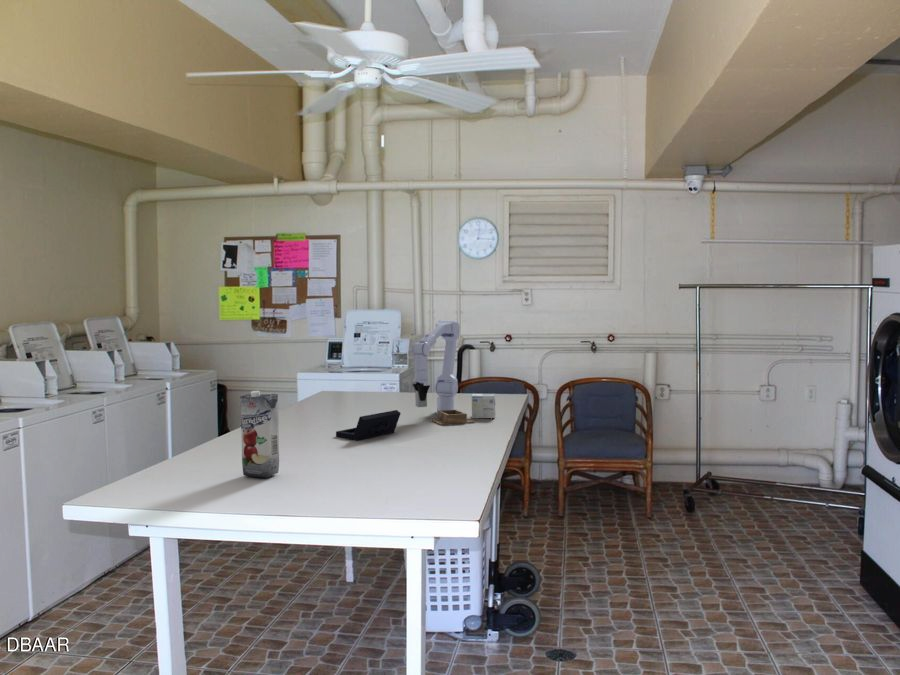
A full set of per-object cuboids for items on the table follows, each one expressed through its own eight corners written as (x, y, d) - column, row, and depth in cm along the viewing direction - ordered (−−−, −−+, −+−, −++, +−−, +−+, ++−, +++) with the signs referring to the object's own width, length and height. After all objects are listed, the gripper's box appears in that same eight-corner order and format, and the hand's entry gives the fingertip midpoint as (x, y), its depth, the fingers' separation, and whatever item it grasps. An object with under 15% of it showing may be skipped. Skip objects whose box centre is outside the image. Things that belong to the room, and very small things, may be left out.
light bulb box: (495, 416, 341) (495, 393, 340) (495, 419, 334) (494, 395, 333) (472, 416, 342) (472, 393, 341) (471, 419, 335) (471, 395, 334)
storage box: (373, 430, 311) (372, 406, 310) (400, 434, 300) (400, 410, 300) (335, 437, 295) (335, 413, 294) (364, 442, 285) (363, 417, 284)
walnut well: (430, 420, 332) (429, 411, 332) (463, 417, 337) (462, 408, 337) (440, 425, 319) (440, 415, 319) (474, 422, 324) (474, 413, 324)
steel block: (415, 405, 328) (415, 390, 328) (424, 405, 330) (423, 389, 329) (418, 407, 324) (418, 391, 324) (426, 406, 326) (426, 390, 325)
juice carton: (255, 470, 240) (253, 388, 239) (283, 472, 237) (281, 389, 235) (238, 476, 232) (236, 391, 230) (266, 479, 228) (264, 392, 227)
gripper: (407, 368, 331) (407, 398, 332) (417, 371, 318) (417, 402, 319) (422, 367, 334) (422, 397, 335) (432, 370, 320) (433, 401, 321)
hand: (421, 400), depth 327 cm, fingers closed on steel block, 4 cm apart
